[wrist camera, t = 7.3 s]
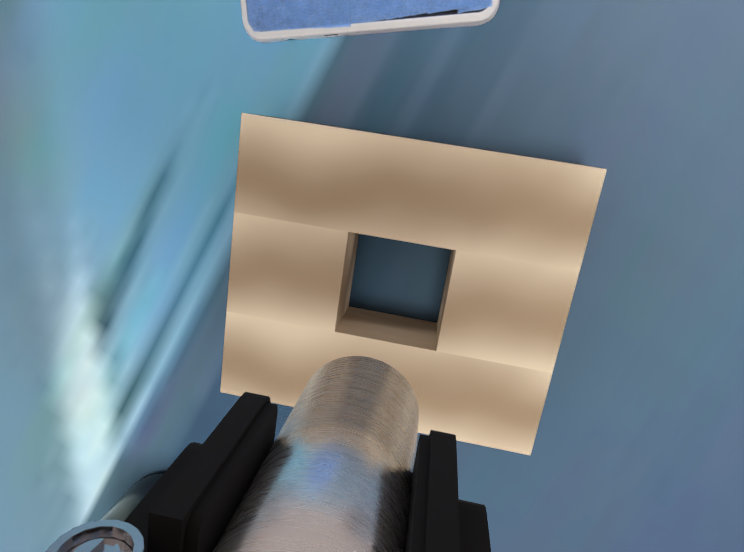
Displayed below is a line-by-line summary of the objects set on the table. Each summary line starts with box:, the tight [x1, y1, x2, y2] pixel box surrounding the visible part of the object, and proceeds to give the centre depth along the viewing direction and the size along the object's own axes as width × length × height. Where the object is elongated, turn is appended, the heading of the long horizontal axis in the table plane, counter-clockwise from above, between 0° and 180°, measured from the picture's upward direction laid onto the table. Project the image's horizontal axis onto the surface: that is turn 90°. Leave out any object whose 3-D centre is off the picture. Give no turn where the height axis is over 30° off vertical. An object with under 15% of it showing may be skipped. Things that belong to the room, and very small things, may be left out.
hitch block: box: [220, 113, 607, 455], centre depth 26 cm, size 14×16×4 cm
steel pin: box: [213, 356, 419, 552], centre depth 9 cm, size 3×3×10 cm
